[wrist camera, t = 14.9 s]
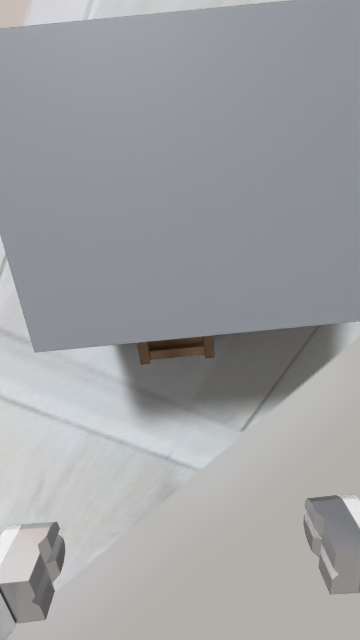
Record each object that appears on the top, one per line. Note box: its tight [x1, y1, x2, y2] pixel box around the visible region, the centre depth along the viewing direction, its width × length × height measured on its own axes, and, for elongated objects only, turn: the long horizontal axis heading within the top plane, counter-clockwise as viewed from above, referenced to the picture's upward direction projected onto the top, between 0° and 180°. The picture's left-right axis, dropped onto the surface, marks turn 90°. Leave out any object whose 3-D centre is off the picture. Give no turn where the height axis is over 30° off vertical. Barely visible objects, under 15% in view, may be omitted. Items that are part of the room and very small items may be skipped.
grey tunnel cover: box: [0, 0, 360, 352], centre depth 17 cm, size 20×12×12 cm, turn 95°
